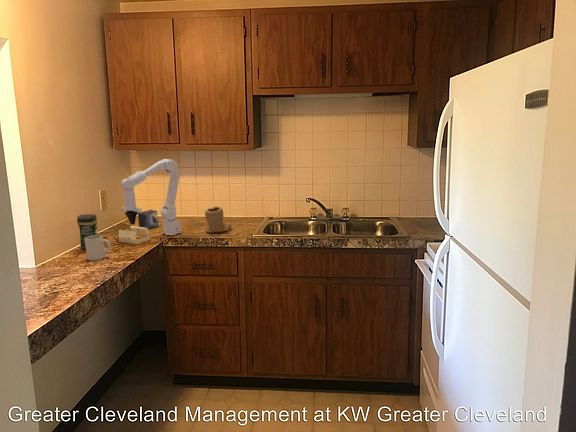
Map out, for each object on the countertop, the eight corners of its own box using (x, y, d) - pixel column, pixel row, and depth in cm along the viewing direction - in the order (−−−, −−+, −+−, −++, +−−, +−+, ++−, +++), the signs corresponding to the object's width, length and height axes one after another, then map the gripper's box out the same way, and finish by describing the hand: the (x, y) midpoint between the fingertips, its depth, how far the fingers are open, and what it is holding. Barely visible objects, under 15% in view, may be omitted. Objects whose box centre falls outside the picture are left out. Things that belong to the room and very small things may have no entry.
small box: (145, 230, 280) (143, 214, 278) (138, 229, 284) (136, 212, 282) (159, 226, 288) (157, 210, 286) (152, 225, 292) (151, 209, 290)
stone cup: (204, 235, 264) (202, 210, 260) (206, 230, 275) (204, 205, 272) (231, 233, 265) (229, 208, 262) (231, 228, 277) (229, 204, 273)
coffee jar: (79, 250, 244) (74, 216, 240) (84, 246, 252) (79, 213, 247) (97, 249, 245) (92, 215, 240) (102, 245, 252) (97, 212, 248)
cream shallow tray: (150, 239, 258) (149, 235, 258) (136, 244, 250) (136, 240, 249) (133, 237, 265) (132, 233, 265) (119, 242, 257) (118, 237, 256)
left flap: (137, 232, 250) (135, 231, 249) (135, 239, 250) (134, 239, 249) (121, 229, 257) (119, 229, 255) (119, 236, 256) (118, 236, 255)
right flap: (148, 234, 258) (150, 233, 259) (146, 229, 256) (147, 227, 257) (132, 232, 264) (134, 231, 265) (130, 227, 262) (131, 225, 263)
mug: (84, 261, 226) (81, 239, 223) (91, 255, 234) (88, 235, 231) (109, 259, 226) (106, 238, 223) (114, 254, 234) (112, 234, 232)
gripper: (115, 200, 252) (118, 224, 256) (133, 202, 245) (136, 226, 248) (125, 198, 258) (128, 221, 262) (143, 200, 251) (146, 223, 254)
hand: (132, 224), depth 255 cm, fingers closed
